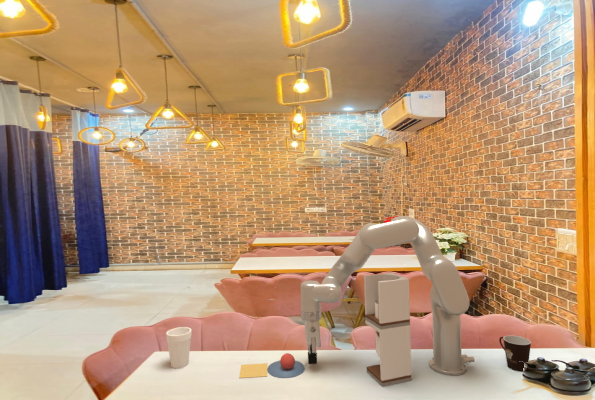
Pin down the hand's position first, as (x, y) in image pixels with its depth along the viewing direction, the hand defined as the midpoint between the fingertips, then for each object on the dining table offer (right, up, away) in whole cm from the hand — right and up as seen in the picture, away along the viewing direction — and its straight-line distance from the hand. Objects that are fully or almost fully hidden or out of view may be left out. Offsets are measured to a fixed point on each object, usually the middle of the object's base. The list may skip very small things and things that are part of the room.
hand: (312, 362), depth 136 cm
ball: (-9, +1, -1) cm, 9 cm away
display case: (+26, -1, -9) cm, 28 cm away
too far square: (-22, -2, -2) cm, 22 cm away
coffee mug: (+75, 0, -3) cm, 75 cm away
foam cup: (-51, -3, +5) cm, 52 cm away
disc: (-10, -2, -1) cm, 10 cm away
